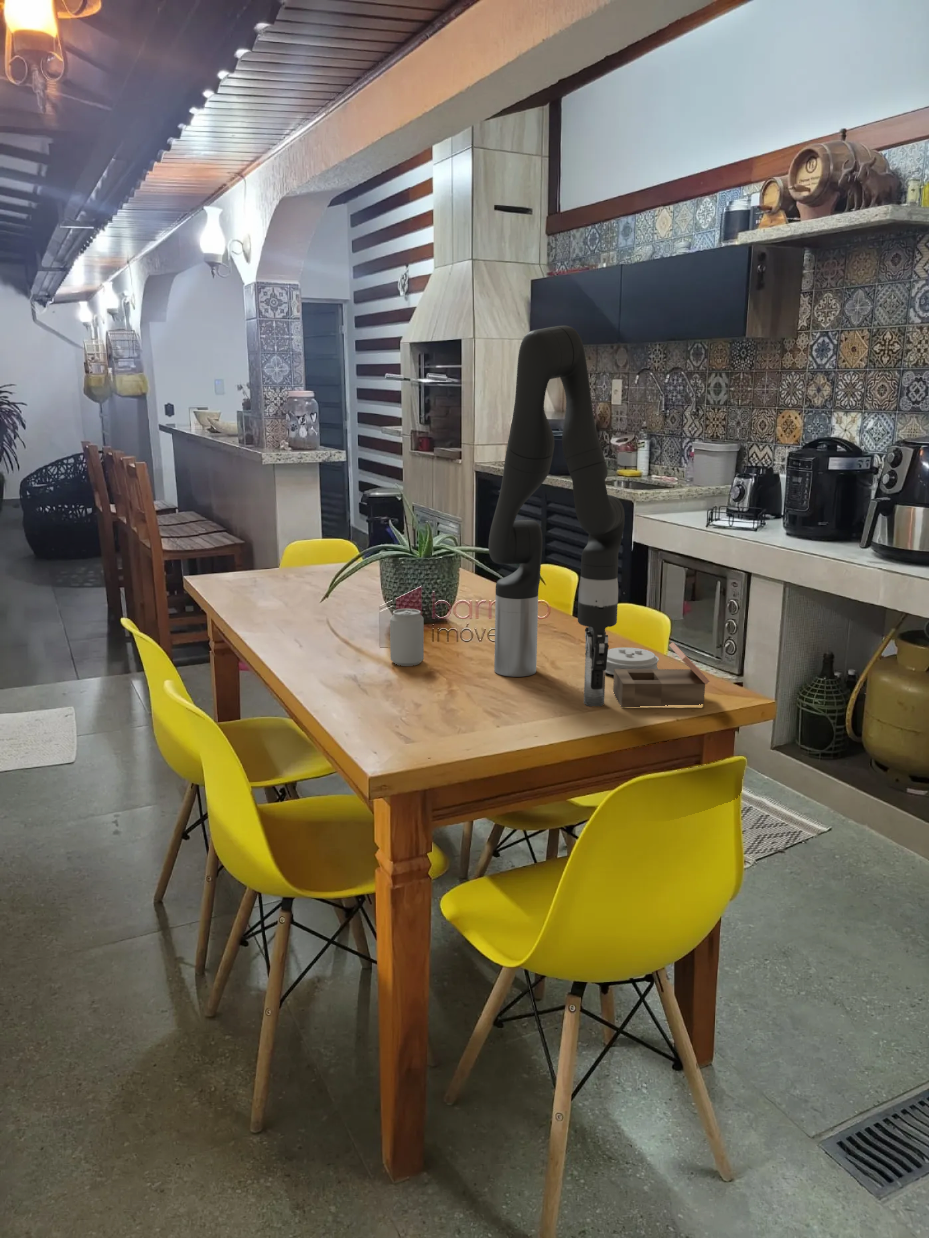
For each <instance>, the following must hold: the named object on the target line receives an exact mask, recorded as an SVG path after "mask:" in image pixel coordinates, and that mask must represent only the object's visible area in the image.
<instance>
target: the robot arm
mask: <svg viewBox="0 0 929 1238" xmlns="http://www.w3.org/2000/svg"><path fill="white" fill-rule="evenodd" d="M587 365H588V364H587V359H586V353H585V347H584V343H583V340H582V338H581V337H580V335H579V333H578V331H577V330H576V329H575V328H573V327H572V326H568V325H557V326H549V327H545V328H539V329H533V330H530V331H529V332H527V333H526V334H525V335H524V337H523V339H522V340H521V343H520V346H519V350H518V357H517V368H516V369H517V371H516V382H515V397H514V405H513V411H512V417H511V419H512V420H511V427H510V431H509V436H508V441H507V446H506V450H505V451H506V452H505V456H504V457H505V458H504V464H503V472H502V480H501V486H500V491H499V496H498V499H497V503H496V507H495V511H494V515H493V518H492V522H491V526H490V531H489V535H488V536H489V537H488V553H489V558H490V559H491V560H492V562H494V563H495V564H498V565H519V566H518V568H517V569H516V570H515V571H514V572H512V573H511V574H509V575H507V576H504V577H503V578H502V577H501V578H500V579H498V580H497V581H496V583H495V598H494V599H495V603H494V605H495V611H494V612H495V613H494V615H495V616H494V617H495V618H494V619H495V620H494V663H493V664H494V672H495V673H496V674H498V675H500V676H505V677H512V678H513V677H518V678H519V677H528V676H532V675H535V674H536V673H537V659H538V658H537V656H538V655H537V654H538V623H539V622H538V620H539V619H538V617H539V616H538V613H539V587H540V581H541V569H542V568H541V567H542V566H541V564H542V556H543V555H542V554H543V532H542V528H541V526H540V524H539V522H537V521H536V520H534V519H520V520H519V519H518V520H517V519H516V518H517V516H518V514H519V512H520V509H521V508H522V506H523V505H524V504H525V503H526V502H527V501H528V500H529V499H530V497H531V496H532V495H533V494H534V493H535V492H536V491H537V490H538V489H539V488H540V486H542V484H543V483H544V482H545V480H546V479H547V477H548V475H549V473H550V471H551V465H552V461H553V456H554V451H555V450H554V449H555V446H556V445H555V435H554V432H553V429H552V427H551V425H550V421H549V420H548V417H547V415H546V410H545V398H546V393H547V389H548V384H549V381H550V380H553V379H558V378H560V381H561V383H562V386H563V390H564V394H565V413H564V420H563V421H564V422H563V427H562V435H561V443H562V446H561V447H562V451H563V456H564V459H565V463H566V465H567V466H566V467H567V469H568V473H569V475H570V479H571V481H572V493H573V501H574V503H573V504H574V510H575V513H576V514H575V516H576V518H577V521H578V523H579V524H580V526H581V528H582V529H583V530H584V532H586V533H587V534H588V539H587V544H586V546H585V547H584V548H583V550H582V553H581V557H580V558H581V562H580V577H579V578H580V580H579V585H578V601H577V602H578V605H577V623H578V624H580V625H581V626H583V627H585V629H584V632H585V633H584V638H585V648H584V650H585V651H586V648H588V657H589V658H590V659H591V688H592V689H602V686H603V671H604V670H606V668H607V666H606V664H607V655H608V650H609V649H610V648H609V646H610V645H609V635H608V634H607V632H606V629H607V628H611V627H614V626H615V625H617V623H618V607H619V606H618V604H619V583H618V574H619V550H620V547H621V544H622V539H623V533H624V529H625V517H626V516H625V509H624V506H623V504H622V502H621V500H620V499H619V498H617V497H616V496H614V495H611V494H608V489H607V486H606V479H607V478H608V476H609V475H608V474H609V473H608V466H607V462H606V459H605V455H604V452H603V449H602V445H601V442H600V439H599V435H598V434H599V433H598V430H597V426H596V422H595V417H594V411H593V402H592V393H591V386H590V379H589V371H588V366H587ZM592 652H594V654H592ZM584 656H586V652H585V653H584ZM597 661H601V664H596V662H597Z"/></svg>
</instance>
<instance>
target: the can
mask: <svg viewBox="0 0 929 1238" xmlns="http://www.w3.org/2000/svg"><path fill="white" fill-rule="evenodd" d="M421 613H422V612H421V610H419V609H415V608H398V609H395V610H393V611H392V614H393V615H391V616H390V618H389V625H390V627H389V632H390V634H389V635H390V638H389V639H390V640H389V641H390V642H389V643H390V649H389V650H390V651H389V652H390V660H391V661H392V662H393V664H394V663H395V664H394V665H396V664H397V666H400V665H401V666H400V667H413V665H414V666H417V665H419V664H420V663H421V662H422V661H423V660H424V658H425V657H424V648H425V647H424V643H425V642H424V638H425V637H424V634H425V633H424V631H425V630H424V628H425V627H424V626H425V625H424V619H425V618H424V617H423V616H422V615H421Z"/></svg>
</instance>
